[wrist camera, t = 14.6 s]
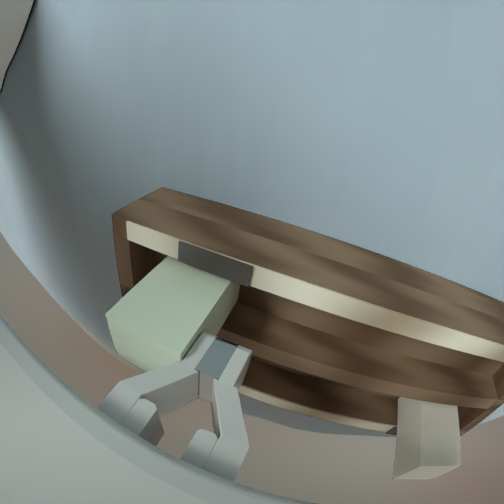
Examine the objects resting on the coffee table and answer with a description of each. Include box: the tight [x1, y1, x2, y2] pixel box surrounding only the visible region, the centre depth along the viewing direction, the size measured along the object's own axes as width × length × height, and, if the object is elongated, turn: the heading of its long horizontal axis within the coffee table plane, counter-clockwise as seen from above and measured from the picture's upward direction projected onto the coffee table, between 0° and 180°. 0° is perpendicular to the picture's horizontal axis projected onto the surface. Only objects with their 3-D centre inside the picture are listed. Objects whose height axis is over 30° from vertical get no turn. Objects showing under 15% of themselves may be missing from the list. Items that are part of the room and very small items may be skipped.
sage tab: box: [105, 256, 240, 372], centre depth 11 cm, size 3×2×6 cm
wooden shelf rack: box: [112, 188, 504, 436], centre depth 13 cm, size 24×9×4 cm, turn 80°
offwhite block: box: [393, 397, 461, 480], centre depth 10 cm, size 3×2×6 cm
